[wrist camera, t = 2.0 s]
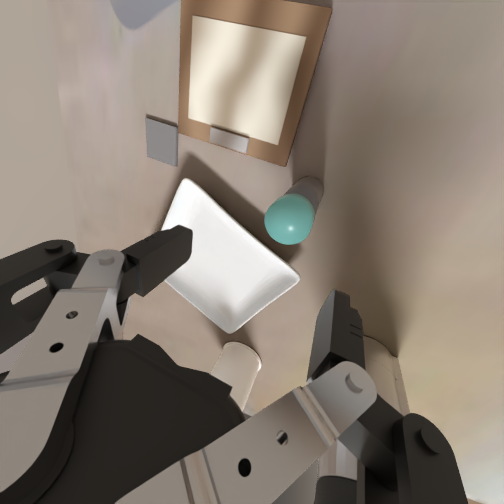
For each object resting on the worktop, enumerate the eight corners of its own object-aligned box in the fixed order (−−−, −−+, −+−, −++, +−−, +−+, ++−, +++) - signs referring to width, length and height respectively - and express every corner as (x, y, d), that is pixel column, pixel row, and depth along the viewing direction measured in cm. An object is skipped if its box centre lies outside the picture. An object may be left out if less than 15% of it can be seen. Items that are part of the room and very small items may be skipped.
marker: (329, 181, 24) (319, 209, 16) (316, 211, 27) (301, 251, 18) (298, 171, 25) (271, 192, 16) (288, 201, 27) (259, 234, 18)
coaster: (178, 127, 28) (176, 127, 28) (177, 166, 31) (175, 166, 31) (147, 117, 29) (145, 117, 29) (149, 156, 32) (147, 156, 32)
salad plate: (156, 257, 43) (143, 266, 40) (196, 170, 31) (181, 174, 28) (236, 324, 44) (229, 337, 41) (308, 265, 31) (304, 278, 28)
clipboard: (332, 11, 18) (331, 5, 17) (286, 166, 25) (283, 167, 25) (185, -13, 21) (178, -19, 20) (181, 132, 28) (175, 132, 27)
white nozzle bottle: (237, 335, 44) (173, 451, 28) (270, 363, 45) (226, 494, 29) (214, 351, 51) (151, 454, 34) (243, 376, 51) (195, 489, 35)
